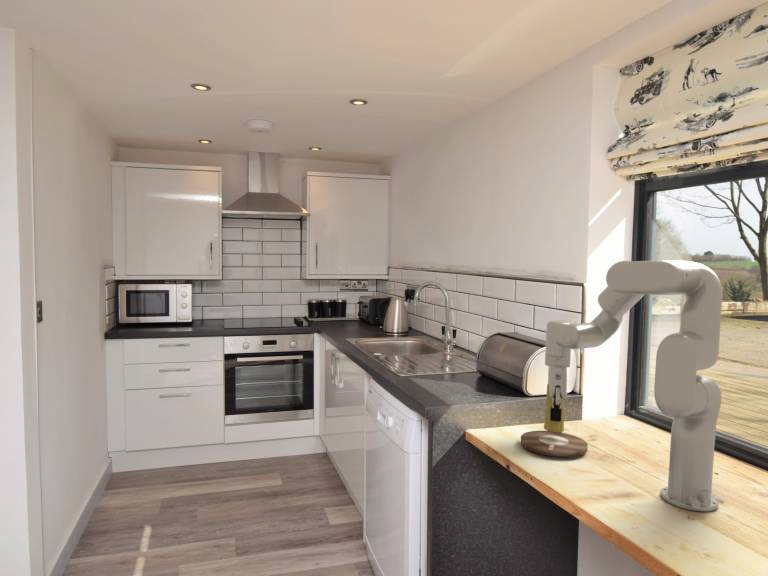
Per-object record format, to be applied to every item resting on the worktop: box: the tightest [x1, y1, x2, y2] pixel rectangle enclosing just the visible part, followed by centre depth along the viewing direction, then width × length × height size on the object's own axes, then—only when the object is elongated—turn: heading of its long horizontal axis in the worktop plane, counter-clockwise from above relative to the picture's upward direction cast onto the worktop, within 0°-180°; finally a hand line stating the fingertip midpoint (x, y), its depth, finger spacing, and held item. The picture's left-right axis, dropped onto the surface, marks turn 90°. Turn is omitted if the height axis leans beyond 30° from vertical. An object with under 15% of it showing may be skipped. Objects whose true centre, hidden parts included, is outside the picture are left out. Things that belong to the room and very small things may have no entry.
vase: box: [543, 383, 565, 433], centre depth 173 cm, size 6×6×14 cm
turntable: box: [520, 430, 589, 458], centre depth 175 cm, size 23×20×8 cm
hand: (554, 417), depth 174 cm, fingers closed on vase, 5 cm apart
